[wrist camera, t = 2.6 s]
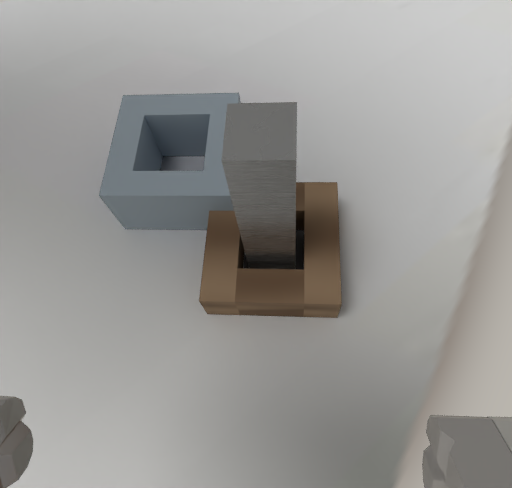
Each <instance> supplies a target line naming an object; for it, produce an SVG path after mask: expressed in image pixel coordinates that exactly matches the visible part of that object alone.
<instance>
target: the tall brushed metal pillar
mask: <svg viewBox="0 0 512 488" xmlns="http://www.w3.org/2000/svg"><path fill="white" fill-rule="evenodd" d="M296 137H297V102H287V103H235V104H227V112H226V121H225V131H224V141H223V150H222V160H221V161H222V165H223V169H224V172H225V176H226V180H227V184H228V188H229V192H230V196H231V200H232V204H233V208H234V212H235V216H236V220H237V224H238V227H239V231H240V235H241V239H242V243H243V247H244V251H245V255H246V259H247V263H248V267H249V269H295V249H296Z"/></svg>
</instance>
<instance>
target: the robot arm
mask: <svg viewBox="0 0 512 488" xmlns="http://www.w3.org/2000/svg"><path fill="white" fill-rule="evenodd" d="M25 414H26V411H25V408H24V405H23V401H22V400H21V399H19V398H16V397H11V396H0V488H7V487H8V486H10V485H11V484H13V483H14V482H16V481H17V480H19V478H20V477H21V475H22V474H23V472H24V471H25V470H26V468H27V466H28V464H29V461H30V458H31V455H32V452H33V437H32V433H31V430H30V429H29V428H28V427H27V426H26V425H25V424H24V423H23V422H22V419H23V418H24V416H25ZM426 433H427V436H428V439H429V441H430V444H431V445H430V446H429V447H427V448H426V449H425V450H424V454H423V464H422V465H423V482H424V487H425V488H512V417H469V416H468V417H467V416H441V415H431V416H430V417H429V419H428V423H427V430H426Z"/></svg>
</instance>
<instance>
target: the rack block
mask: <svg viewBox="0 0 512 488" xmlns="http://www.w3.org/2000/svg"><path fill="white" fill-rule="evenodd" d="M235 103H241V102H240V96H239V93H209V94H164V95H123V98H122V102H121V106H120V110H119V114H118V119H117V123H116V127H115V131H114V135H113V139H112V144H111V148H110V152H109V156H108V160H107V164H106V169H105V173H104V177H103V181H102V185H101V189H100V193H99V196H100V197H101V199H102V200H103V201H104V203H105V204H106V205H107V206H108V208H109V209H110V210H111V212H112V213H113V214H114V215H115V217H116V218H117V219H118V221H119V222H120V223H121V224H122V226H123V227H124V228H125V229H172V230H207V226H208V217H209V211H234V208H233V204H232V200H231V196H230V192H229V188H228V184H227V180H226V176H225V172H224V169H223V165H222V161H221V160H222V150H223V141H224V131H225V121H226V112H227V104H235ZM163 156H205V160H204V168H203V171H160V169H161V163H162V157H163Z"/></svg>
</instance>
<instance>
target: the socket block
mask: <svg viewBox="0 0 512 488" xmlns="http://www.w3.org/2000/svg"><path fill="white" fill-rule="evenodd" d="M296 230H304V270H299V269H243V265H244V247H243V243H242V239H241V235H240V231H239V227H238V224H237V220H236V216H235V212H234V211H209V217H208V226H207V235H206V244H205V253H204V262H203V271H202V280H201V289H200V298H199V302H200V303H201V305H202V306H203V308H204V309H205V311H206V312H207V314H222V315H258V316H295V317H331V318H337V317H338V314H339V311H340V308H341V305H342V302H341V274H340V245H339V217H338V189H337V182H296Z"/></svg>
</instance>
